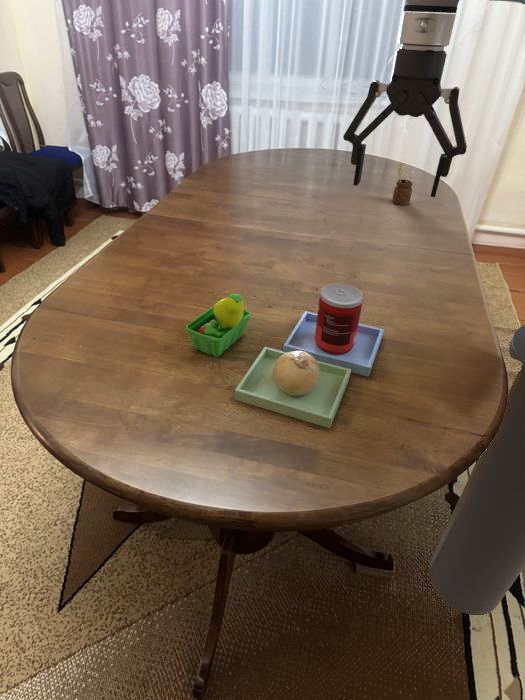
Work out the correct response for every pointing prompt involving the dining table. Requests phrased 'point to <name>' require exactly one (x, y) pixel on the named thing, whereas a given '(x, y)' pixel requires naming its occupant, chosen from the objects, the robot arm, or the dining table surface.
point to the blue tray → (355, 360)
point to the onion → (296, 373)
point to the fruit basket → (219, 326)
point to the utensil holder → (402, 189)
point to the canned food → (338, 318)
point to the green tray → (305, 407)
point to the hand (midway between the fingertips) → (394, 189)
